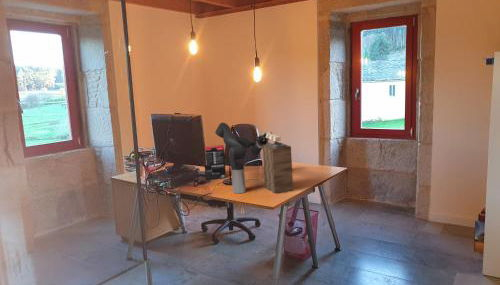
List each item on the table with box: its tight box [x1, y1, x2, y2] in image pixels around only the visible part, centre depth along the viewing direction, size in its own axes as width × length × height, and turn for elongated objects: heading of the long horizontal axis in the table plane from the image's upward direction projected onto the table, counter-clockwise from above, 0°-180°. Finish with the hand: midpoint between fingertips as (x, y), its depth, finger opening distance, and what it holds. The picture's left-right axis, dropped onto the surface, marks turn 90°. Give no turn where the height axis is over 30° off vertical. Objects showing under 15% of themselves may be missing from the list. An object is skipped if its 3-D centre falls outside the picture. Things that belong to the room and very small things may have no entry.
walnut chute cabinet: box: [262, 141, 294, 194], centre depth 275 cm, size 18×14×34 cm
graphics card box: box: [204, 144, 227, 180], centre depth 315 cm, size 17×7×27 cm, turn 98°
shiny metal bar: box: [261, 131, 281, 142], centre depth 279 cm, size 24×4×3 cm, turn 20°
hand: (268, 133), depth 283 cm, fingers closed on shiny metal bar, 4 cm apart
